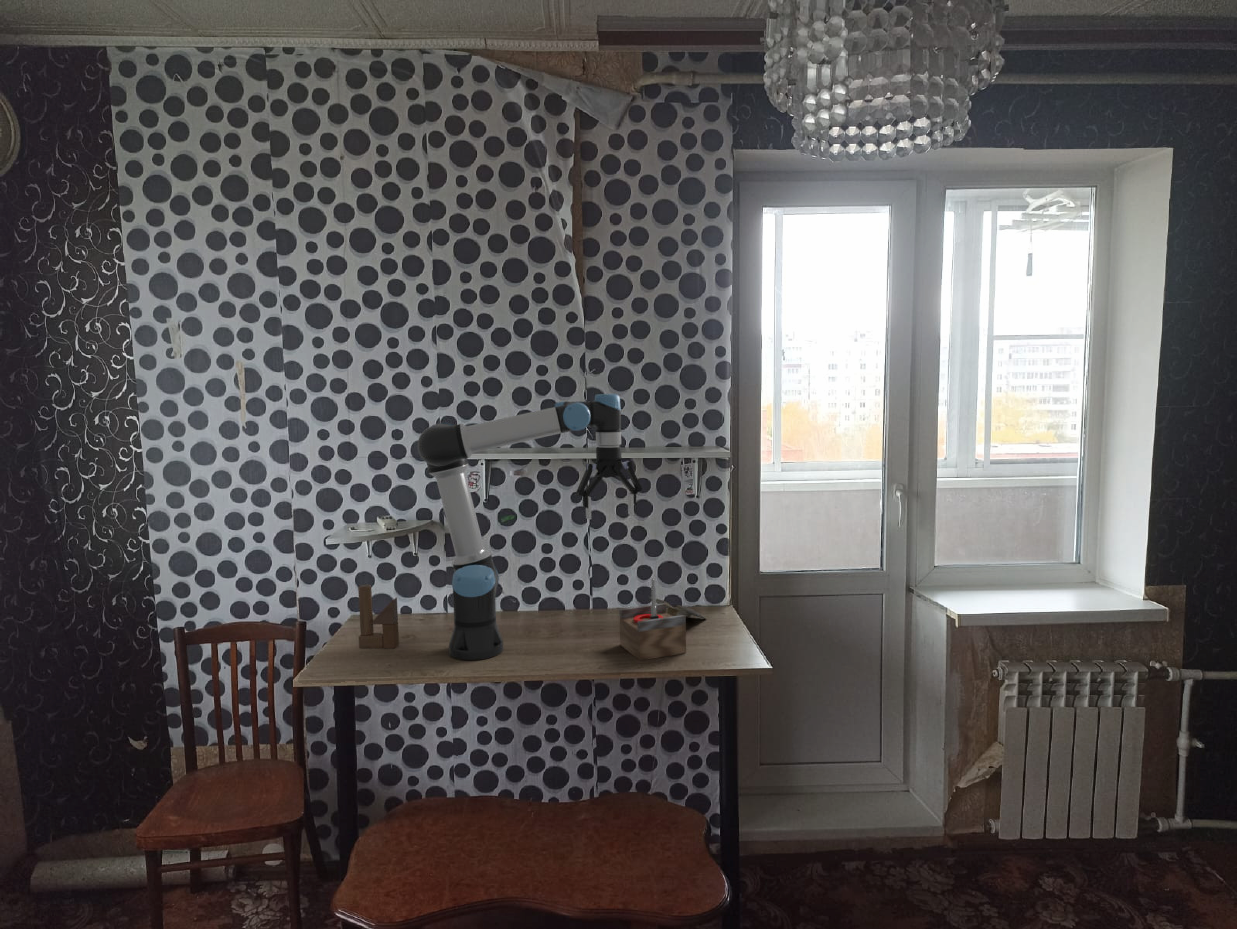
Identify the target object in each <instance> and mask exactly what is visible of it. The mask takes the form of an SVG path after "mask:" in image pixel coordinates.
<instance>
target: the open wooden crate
mask: <svg viewBox="0 0 1237 929" xmlns="http://www.w3.org/2000/svg"><path fill="white" fill-rule="evenodd" d="M651 606H652V604H647V605H640V606H634V607H631V606H630V607H625V608H619V639H620V640H619V641H620V642H619V643H620V646H621V647H622V648H624V650H626V651H627V652H629V653H630V654H631V655H632V656H634V657H635V658H636V659H637V660H638V661H644V660H650V659H656V658H663V657H669V656H675V655H682V654H687V617H686V616H685V615H679V616H671V615H669V614H668V613H667V608H666V604H665V603H661V604H657V603H656V607H657V615H661V616H663V617H664V618H658V619H651V620H650V618H642V619H641V620H643V621H637V623H636V622H634V620H633V618H634V617H635V616H637V615H642V614H651Z"/></svg>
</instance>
